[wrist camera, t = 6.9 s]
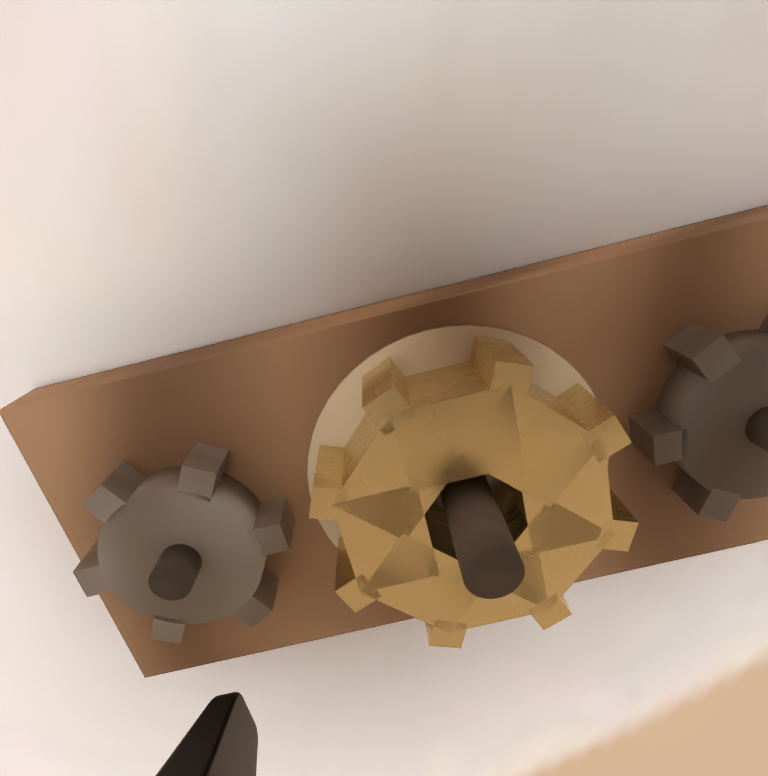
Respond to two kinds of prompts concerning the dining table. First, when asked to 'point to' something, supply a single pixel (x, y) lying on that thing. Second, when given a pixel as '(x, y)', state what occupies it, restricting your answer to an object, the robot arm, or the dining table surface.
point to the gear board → (344, 413)
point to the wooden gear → (462, 461)
